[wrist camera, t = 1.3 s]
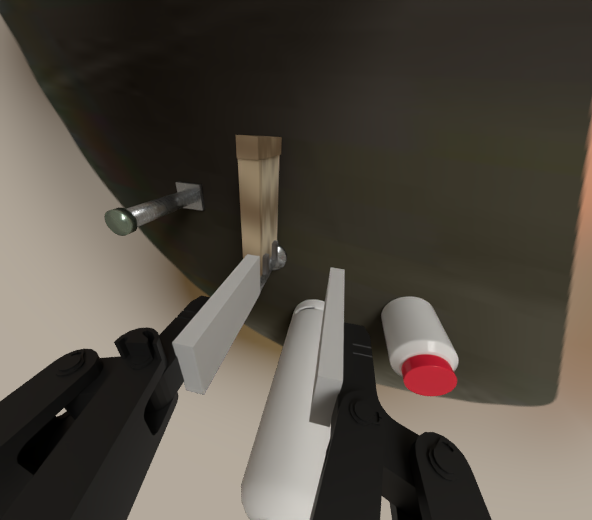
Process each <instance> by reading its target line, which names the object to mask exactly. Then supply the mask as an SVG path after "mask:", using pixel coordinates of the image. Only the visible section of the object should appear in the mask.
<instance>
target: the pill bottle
mask: <svg viewBox="0 0 592 520" xmlns="http://www.w3.org/2000/svg"><path fill="white" fill-rule="evenodd" d="M381 320H382V325H383V330H384V335H385V340H386V345H387V350H388V355H389V360H390V364H391V367H392V368H393V370H394V371H395V372H396V373H397V374H398V375H400V376H401V377H403V380H404V384H405V385H406V387H407V388H408V389H409V390H410V391H412V392H414V393H416V394H419V395H424V396H439V395H443V394H446V393H448V392H450V391H452V390H453V389H454V388H455V386H456V385H457V378H456V376H455V374H454V371H455V370H456V368H457V366H458V362H459V361H458V356H457V354H456V351H455V349H454V348H453V346H452V344H451V342H450V340H449V338H448V336H447V334H446V332H445V330H444V328H443V326H442V324H441V322H440V320H439V318H438V317H437V315H436V313H435V311H434V309H433V307H432V306H431V305H430V303H428V302H427V301H425V300H423V299H421V298H418V297H411V296H410V297H400V298H397V299H394V300H393V301H391V302H389V303H388V304H387V305H386V306H385V307H384V308H383V310H382V313H381Z"/></svg>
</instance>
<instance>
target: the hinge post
mask: <svg viewBox="0 0 592 520" xmlns="http://www.w3.org/2000/svg"><path fill="white" fill-rule="evenodd" d="M286 260H287V254H286V252H285V250H284V249H283V248H282V247H281V246H280V245H278V256H277V258H276V260H271V257H270V259H269V272H268V274H267V275H262V276H261V277H260V291H261V290H262V288H263V286H264V284H265V282H266V281H267V279H268V277H269V275H270V274H271V272H272V270H278V269H280V268H282V267H283V266H284V265H285V263H286Z"/></svg>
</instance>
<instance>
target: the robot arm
mask: <svg viewBox="0 0 592 520" xmlns="http://www.w3.org/2000/svg"><path fill="white" fill-rule="evenodd" d="M259 295H260V256H256V255H249V254H247V255H246V257H245V258H244V259H243V260H242V261H241V262H240V264H239V265H238V266H237V267H236V268H235V269H234V271H233V272H232V273H231V274H230V275H229V276H228V278H227V279H226V280H225V281H224V282H223V284H222V285H221V286H220V287H219V288H218V289H217V291H216V292H215V293H214V294H213V295H212V296H211V298H210V297H205V296H200V297H198V298H197V299H195V300H193V301H192V302H190V303H189V304H188V305H187V307H186V308H185V309H184V311H182V312H181V313H180V314H179V315H178V317H177V318H175V319H174V320H173V321H172V322H171V324H169V326H168V327H167V328H166V329H165V330H164V331H163V332H162V333H161V334H160V335H158V332H157V331H156V330H154V329H152V328H138V329H135V330H132V331H129V332H127V333H126V334H124V335H122V336H121V337H119V338H118V339H117V340H116V341H115V342H114V343H115V345H116V347H117V349H118V351H119V353H120V355H121V357H109V358H99V356H98V354H97V352H95V351H93V350H92V349H81V350H76V351H73V352H71V353H68V354H66V355H64V356H62V357H60V358H59V359H57V360H56V361H54V362H53V363H52V364H50V365H49V366H47V367H46V368H45V369H43V370H42V371H41V372H39V373H38V374H37V375H35V376H34V377H33V378H32V379H30V380H29V381H27V382H26V383H25V384H23V385H22V386H20V387H19V388H18V389H16V390H15V391H14V392H12V393H11V394H10V395H8V396H7V397H6V398H4V399H3V400H2V401H0V520H127V517H128V515H129V513H130V511H131V508H132V506H133V504H134V501H135V499H136V497H137V494H138V492H139V490H140V487H141V485H142V483H143V480H144V478H145V476H146V473H147V471H148V469H149V466H150V464H151V462H152V459H153V457H154V455H155V452H156V450H157V448H158V446H159V443H160V441H161V439H162V436H163V434H164V432H165V429H166V427H167V425H168V422H169V420H170V418H171V415H172V413H173V411H174V408H175V406H176V404H177V400H178V393H177V391H178V390H179V388H180V387H181V385H182V383H183V382H184V385H185V388H186V390H187V391H191V392H195V393H199V394H202V395H204V394H205V392H206V390H207V389H208V387H209V385H210V383H211V381H212V380H213V378H214V376H215V374H216V372H217V370H218V369H219V367H220V365H221V363H222V361H223V360H224V358H225V356H226V354H227V353H228V351H229V349H230V347H231V345H232V344H233V342H234V340H235V338H236V336H237V334H238V333H239V331H240V329H241V327H242V325H243V324H244V322H245V320H246V318H247V316H248V315H249V313H250V311H251V309H252V307H253V306H254V304H255V302H256V300H257V298H258V297H259ZM63 408H65V409H66V410H67V412H65V413H64V414H62V415H60V416H57V417H56V415H57V414H58V413H59V412H60V411H61V410H62V409H63ZM309 422H311V423H315V424H319V425H323V426H327V427H330V425H331V433H330V440H329V443H328V447H327V450H326V455H325V459H324V463H323V467H322V471H321V475H320V479H319V483H318V487H317V491H316V495H315V499H314V503H313V507H312V512H311V516H310V520H380V511H381V496H383V497H384V498H386V499H387V500H388V501H389V502H390V508H391V515H392V520H491V517H490V515H489V512H488V510H487V507H486V505H485V502H484V500H483V497H482V495H481V492H480V490H479V487H478V485H477V482H476V480H475V477H474V475H473V472H472V470H471V468H470V466H469V464H468V462H467V460H466V459H465V457H464V455H463V454H462V453H461V451H460V450H459V449H458V448H457V447H456V446H455V445H454V444H453V443H452V442H451V441H449V440H448V439H447V438H445V437H444V436H442V435H439V434H437V433H434V432H424V433H423V434H421V435H420V436H419V435H418V434H416V433H414V432H413V431H411V430H409V429H407V428H406V427H404V426H402V425H401V424H399V423H398V422H396V421H395V420H393V419H392V418H391V417H390V416H389V415H388V414H387V413H386V412H385V410H384V409H383V408H382V406H381V404H380V402H379V400H378V396H377V391H376V382H375V374H374V366H373V358H372V349H371V341H370V336H369V334H368V332H367V330H366V329H365V327H364V326H360V325H355V324H349V323H344V270H343V269H337V268H331V269H330V274H329V280H328V286H327V292H326V298H325V304H324V311H323V318H322V326H321V334H320V341H319V349H318V356H317V364H316V372H315V379H314V387H313V395H312V402H311V410H310V417H309Z"/></svg>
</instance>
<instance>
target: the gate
mask: <svg viewBox="0 0 592 520" xmlns="http://www.w3.org/2000/svg"><path fill="white" fill-rule="evenodd" d="M281 143H282V137H271V136H251V135H236V152H237V158H238V172H239V191H240V209H241V228H242V247H243V259H244V258H245V257H246V255H247V254H249V255H256V256H260V277H261V276H262V275H267V274H268V272H269V259H270V257H271V260H276V258H277V256H278V241H277V219H278V186H279V155H281Z"/></svg>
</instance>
